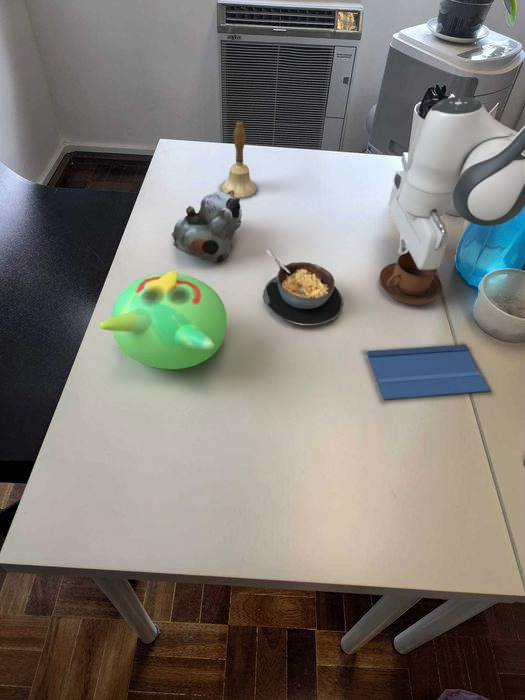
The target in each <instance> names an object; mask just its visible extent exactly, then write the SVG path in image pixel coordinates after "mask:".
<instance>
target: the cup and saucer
mask: <svg viewBox="0 0 525 700" xmlns="http://www.w3.org/2000/svg"><path fill="white" fill-rule="evenodd" d="M437 269H438V268H436V269H434V270H419V269H418V268H417V266H416V264H415V262H414V260H413V258H412V256H411V254H410V253H405V254H402V255H401V256H399V257H398V258H397V260H396V262H392V263H389V264H387V265H386V266H385V267H382V270H381V271H380V273H379V283H380V286H381V288H382V289H383V291H384V292H385V293H386V294H387V295H388V296H390V297H391V298H392V299H394V300H396V301H398V302H400V303H403V304H407V305H415V306H416V305H417V306H418V305H419V306H420V305H426V304H429V303H430V304H431V303H432V302H434V301H435V300H437V298H438V297H440V295H441V294H442V290H443V285H442V283H441V280H440V278H439V277H438V276H437V275H436V272H437Z"/></svg>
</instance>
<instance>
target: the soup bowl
mask: <svg viewBox="0 0 525 700" xmlns="http://www.w3.org/2000/svg"><path fill="white" fill-rule="evenodd" d="M266 254H267V255H269V257H271V258H272V259H273V260H274V262H275V263H276V264H277V265H278V267H279V270H278V272H277V275H276V276H275V277H272V278H271V279H270V280H268V283H266V285H265V288H264V289H263V294H262V298H263V301H264V303H265V305H266V306H267V307H268V309H269V310H270V311H271V312H272V313H274V314H275V315H277V316H278V317H279V318H281V319H283V320H284V321H287V322H289V323H293V324H294V325H295V324H296V325H300V326H314V325H321V324H325V323H328V322H333V321H335V319H337V318H338V317H339V315H340V314H341V312H342V311H343V308H344V299H343V296H342V294H341V292H340V291H339V289H338V288H337V286H335V285H336V283H335V282H336V280H335V279H334V276H333V274H332V273H331V272H330V270H329V271H328V270H327V269H325V268H324V267H323V266H320V265H319V264H316V263H311V262H305V261H300V262H290V263H288V264H284V263H283V262H282V261H281V259H280V258H279V257H278V256H277V255H276V254H275V253H274V252H273V251H271V250H270V249H266Z"/></svg>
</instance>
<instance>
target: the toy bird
mask: <svg viewBox="0 0 525 700" xmlns="http://www.w3.org/2000/svg"><path fill="white" fill-rule="evenodd" d="M110 315H111V316H110V317H109V318H108V319H105V320H103V321H101V323H100V324H99V327H100V329H102V330H105V331H111V332H112V335H113V338H114V340H115V343H116V344H117V346H118V347H119V348H120V349H121V351H123V353H125V354H126V355H127V356H128V357H129V358H131V359H132V360H134V361H136V362H137V363H140V364H142V365H145V366H149V367H153V368H157V369H161V370H179V369H186V368H190V367H195V366H197V365H199V364H201V363H203V362H205V361H206V360H208V359H210V358H211V357H212V356H213V355H214V354H215V353H216V352H217V351H218V350H219V348H220V347H221V345H222V343H223V341H224V340H225V336H226V333H227V328H228V315H227V310H226V306H225V305H224V302H223V300H222V298H221V297H220V296H219V293H217V292H216V290H215V289H213V288H212V287H211V286H210V285H208V283H205V282H204V281H202V280H200V279H198V278H195V277H192V276H189V275H185V274H182V273H179V272H178V271H177V270H171V271H169V272H163V273H162V272H160V273H153V274H149V275H146V276H143V277H140V278H138V279H136V280H134V281H132V282H130V284H128V285H127V286H126V287H125V288H124V289H122V291H121V292H120V294H119V295H118V296H117V298H116V299H115V302H114V304H113V306H112V310H111V314H110Z"/></svg>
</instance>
